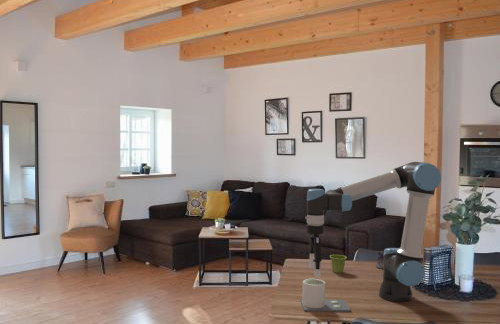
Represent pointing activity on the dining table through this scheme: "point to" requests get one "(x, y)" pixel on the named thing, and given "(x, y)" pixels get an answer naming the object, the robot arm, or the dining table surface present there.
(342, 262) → the plant pot
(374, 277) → the dining table surface
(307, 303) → the tube stand
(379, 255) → the geode
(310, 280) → the sage ball
